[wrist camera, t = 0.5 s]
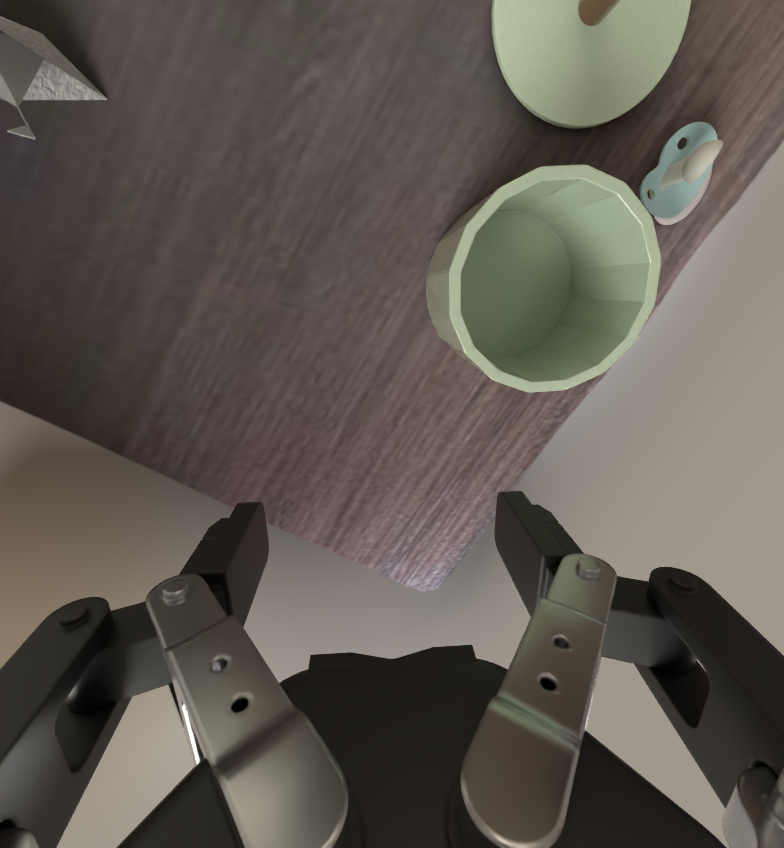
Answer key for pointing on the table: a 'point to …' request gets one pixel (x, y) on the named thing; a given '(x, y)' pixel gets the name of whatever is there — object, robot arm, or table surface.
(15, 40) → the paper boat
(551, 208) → the crock
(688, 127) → the pacifier
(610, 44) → the lid
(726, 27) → the table surface
